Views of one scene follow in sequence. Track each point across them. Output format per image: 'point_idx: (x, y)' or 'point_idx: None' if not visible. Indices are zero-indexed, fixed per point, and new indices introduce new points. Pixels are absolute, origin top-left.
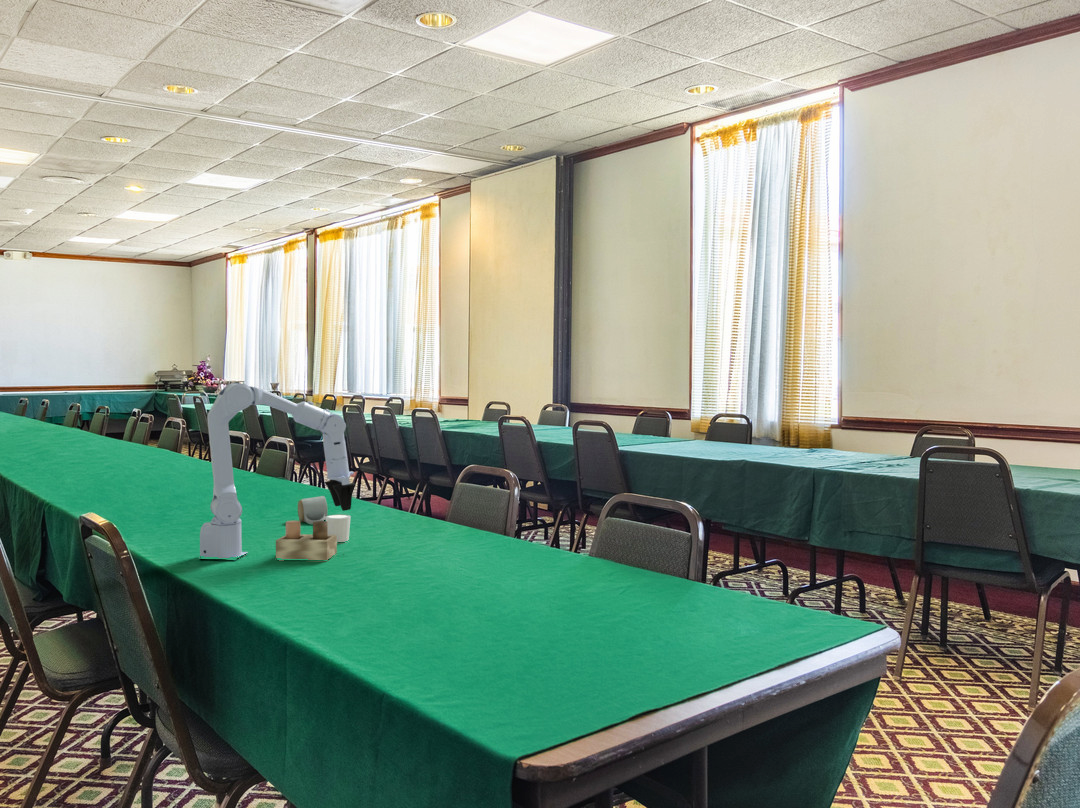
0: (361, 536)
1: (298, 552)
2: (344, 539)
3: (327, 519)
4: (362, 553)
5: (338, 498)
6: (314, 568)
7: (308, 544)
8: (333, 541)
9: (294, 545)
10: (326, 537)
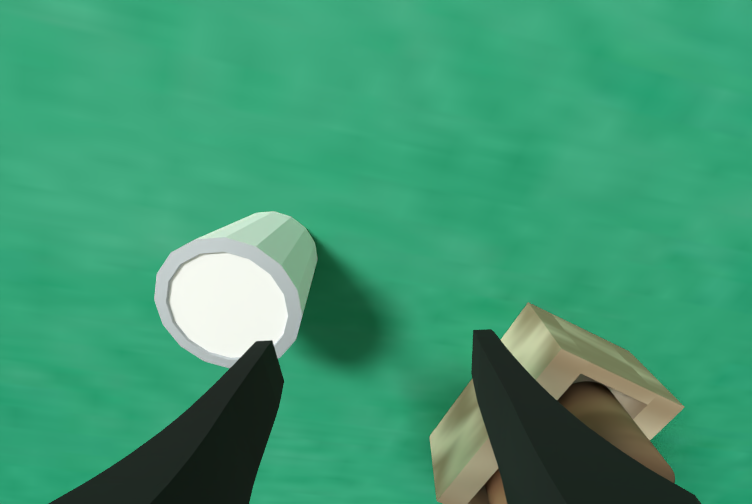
0: (185, 133)
1: None
2: (308, 239)
3: None
4: (565, 205)
5: (257, 407)
6: (705, 400)
7: None
8: (594, 356)
9: None
10: (618, 401)
